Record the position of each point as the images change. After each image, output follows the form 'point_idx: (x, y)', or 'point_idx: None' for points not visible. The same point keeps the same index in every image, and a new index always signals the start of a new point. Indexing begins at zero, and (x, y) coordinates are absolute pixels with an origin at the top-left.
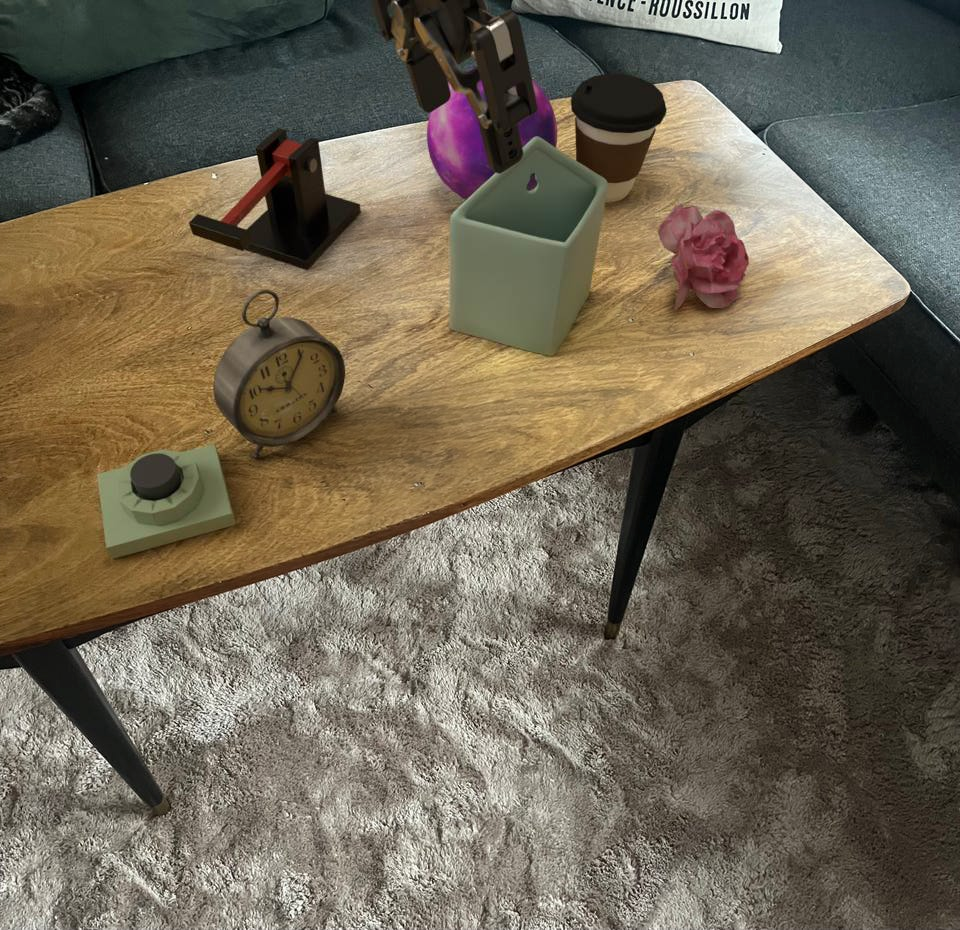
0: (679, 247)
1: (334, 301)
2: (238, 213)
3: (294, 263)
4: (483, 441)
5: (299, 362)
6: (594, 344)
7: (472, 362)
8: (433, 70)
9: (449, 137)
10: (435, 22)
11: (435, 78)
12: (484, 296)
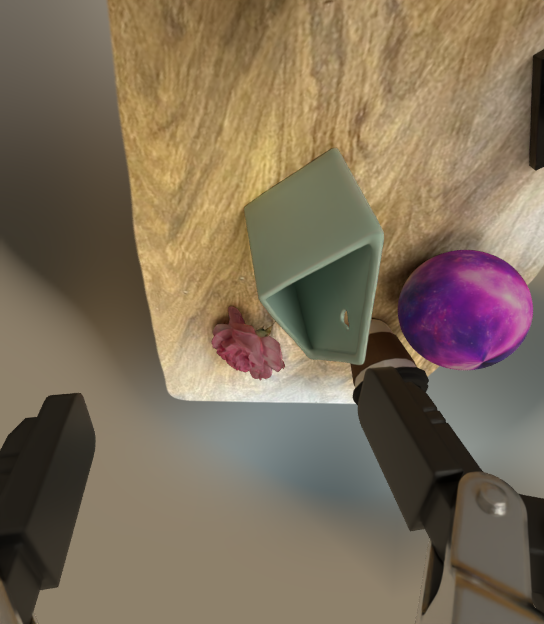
0: (248, 347)
1: (468, 54)
2: None
3: None
4: (176, 78)
5: None
6: (235, 243)
7: (282, 139)
8: (397, 470)
9: (487, 287)
10: None
11: (387, 450)
12: (314, 197)
